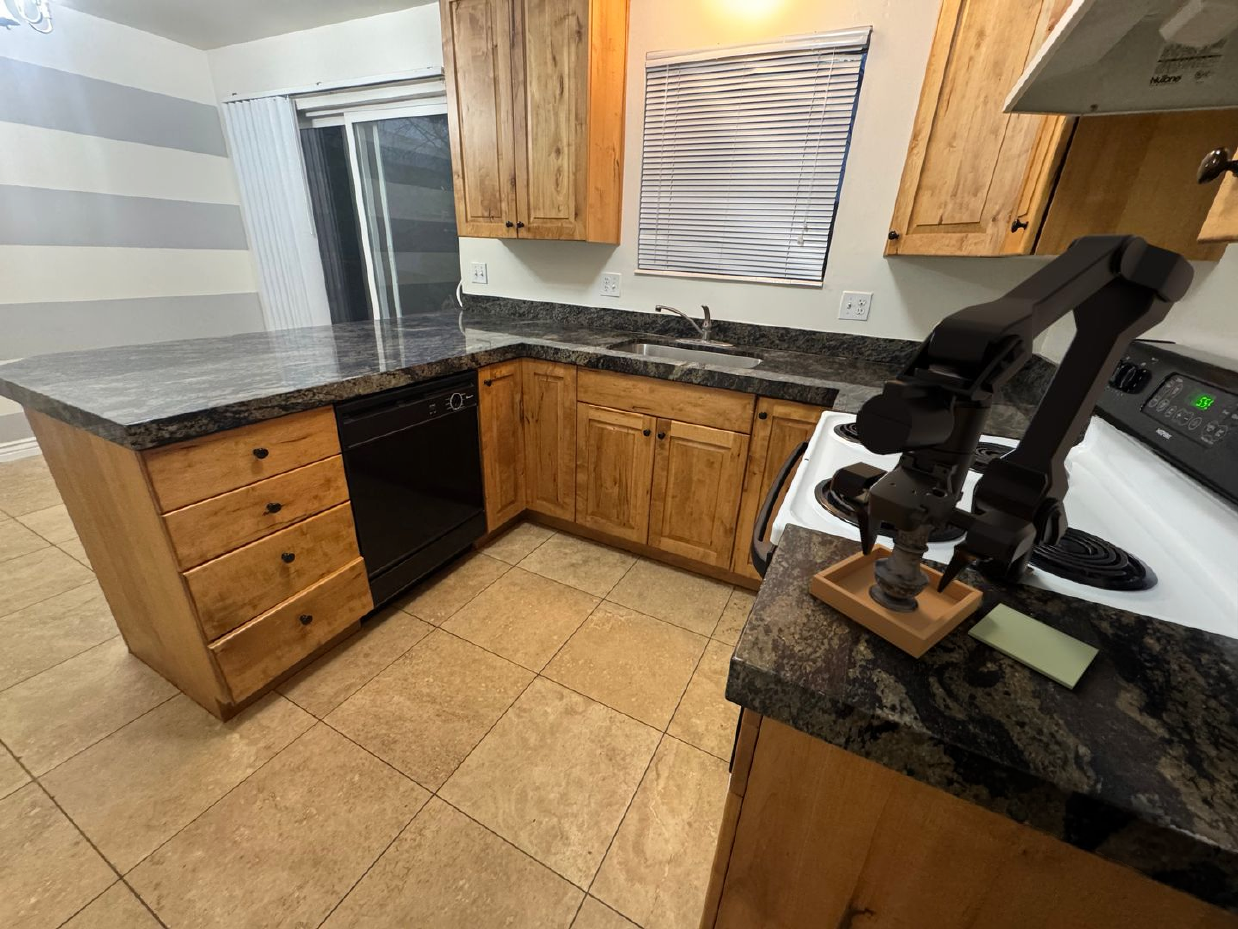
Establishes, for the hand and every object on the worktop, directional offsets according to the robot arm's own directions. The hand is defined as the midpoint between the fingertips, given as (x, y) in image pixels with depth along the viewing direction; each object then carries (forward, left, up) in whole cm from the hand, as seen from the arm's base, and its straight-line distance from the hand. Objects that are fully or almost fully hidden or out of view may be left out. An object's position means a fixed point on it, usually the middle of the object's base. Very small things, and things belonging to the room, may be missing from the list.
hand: (901, 571), depth 57 cm
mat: (-6, +12, -4) cm, 14 cm away
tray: (0, 0, -4) cm, 4 cm away
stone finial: (0, 0, -4) cm, 4 cm away
